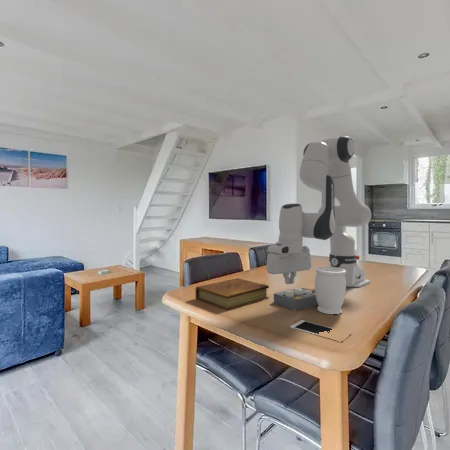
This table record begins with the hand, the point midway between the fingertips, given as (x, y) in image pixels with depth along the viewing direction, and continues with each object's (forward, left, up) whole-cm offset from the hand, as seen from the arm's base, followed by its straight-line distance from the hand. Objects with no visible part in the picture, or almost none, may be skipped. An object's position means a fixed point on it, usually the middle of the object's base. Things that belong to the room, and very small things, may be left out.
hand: (289, 283), depth 114 cm
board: (-5, 0, -8) cm, 10 cm away
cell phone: (+10, +22, -9) cm, 26 cm away
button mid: (-5, 0, -6) cm, 8 cm away
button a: (0, 0, -6) cm, 6 cm away
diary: (+13, -18, -9) cm, 24 cm away
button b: (-10, 0, -7) cm, 13 cm away
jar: (-7, +13, -8) cm, 17 cm away
